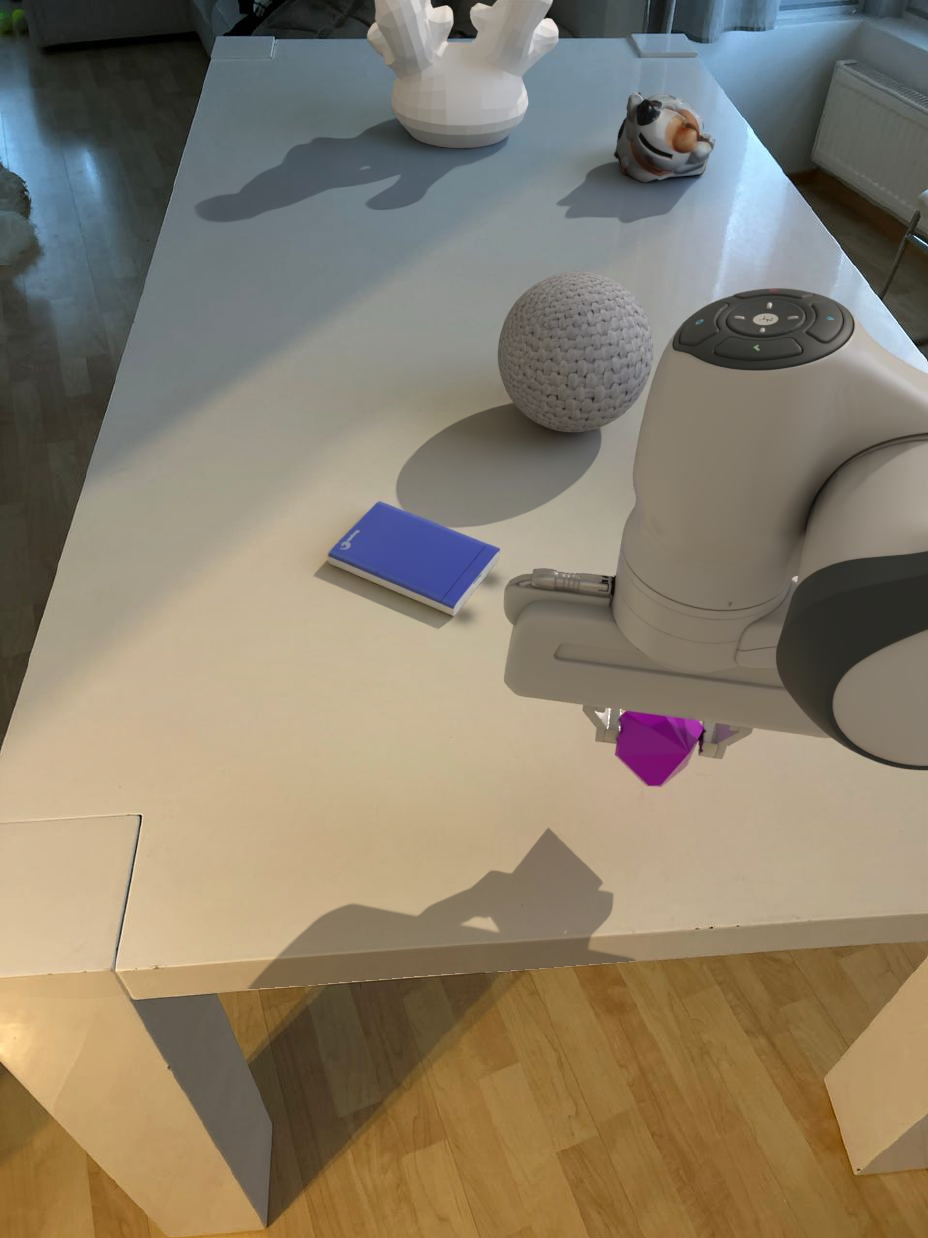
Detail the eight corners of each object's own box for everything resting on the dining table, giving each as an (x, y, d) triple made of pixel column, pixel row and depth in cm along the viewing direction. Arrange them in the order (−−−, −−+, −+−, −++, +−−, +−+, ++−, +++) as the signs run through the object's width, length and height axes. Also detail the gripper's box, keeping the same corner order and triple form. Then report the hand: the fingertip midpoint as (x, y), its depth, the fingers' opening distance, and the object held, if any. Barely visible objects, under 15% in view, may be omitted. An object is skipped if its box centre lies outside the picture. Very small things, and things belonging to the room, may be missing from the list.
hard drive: (327, 551, 81) (453, 605, 77) (379, 498, 85) (500, 546, 81) (328, 565, 82) (453, 618, 78) (380, 511, 87) (499, 559, 83)
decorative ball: (537, 478, 90) (551, 337, 79) (470, 397, 100) (473, 260, 89) (669, 440, 95) (699, 301, 84) (593, 366, 104) (610, 232, 93)
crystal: (701, 742, 63) (714, 699, 59) (674, 805, 59) (687, 762, 56) (627, 713, 64) (636, 670, 61) (597, 773, 61) (605, 730, 58)
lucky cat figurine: (721, 166, 142) (748, 94, 129) (675, 221, 140) (698, 153, 126) (640, 114, 145) (658, 38, 131) (593, 167, 142) (607, 95, 129)
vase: (371, 159, 142) (357, -136, 116) (370, 106, 157) (357, -166, 132) (561, 157, 144) (588, -134, 118) (542, 105, 159) (562, -163, 134)
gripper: (496, 606, 50) (491, 759, 60) (900, 658, 47) (824, 807, 57) (513, 528, 54) (505, 682, 64) (884, 571, 52) (816, 725, 62)
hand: (658, 742), depth 61 cm, fingers closed on crystal, 5 cm apart
